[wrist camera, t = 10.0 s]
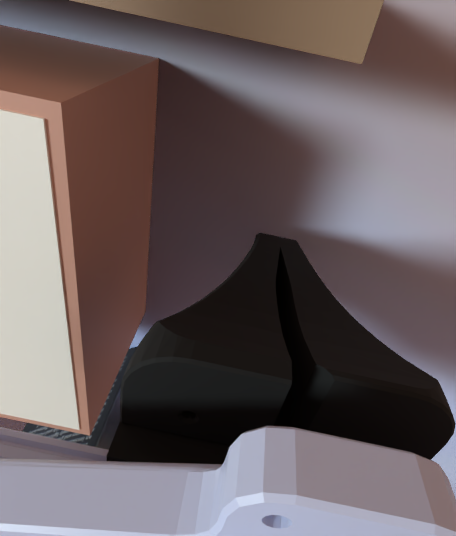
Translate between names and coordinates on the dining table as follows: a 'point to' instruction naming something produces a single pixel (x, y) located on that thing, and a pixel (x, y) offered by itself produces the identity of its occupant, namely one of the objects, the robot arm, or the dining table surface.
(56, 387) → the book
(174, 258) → the dining table surface
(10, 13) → the dining table surface
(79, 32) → the dining table surface
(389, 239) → the dining table surface
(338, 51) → the shelf
